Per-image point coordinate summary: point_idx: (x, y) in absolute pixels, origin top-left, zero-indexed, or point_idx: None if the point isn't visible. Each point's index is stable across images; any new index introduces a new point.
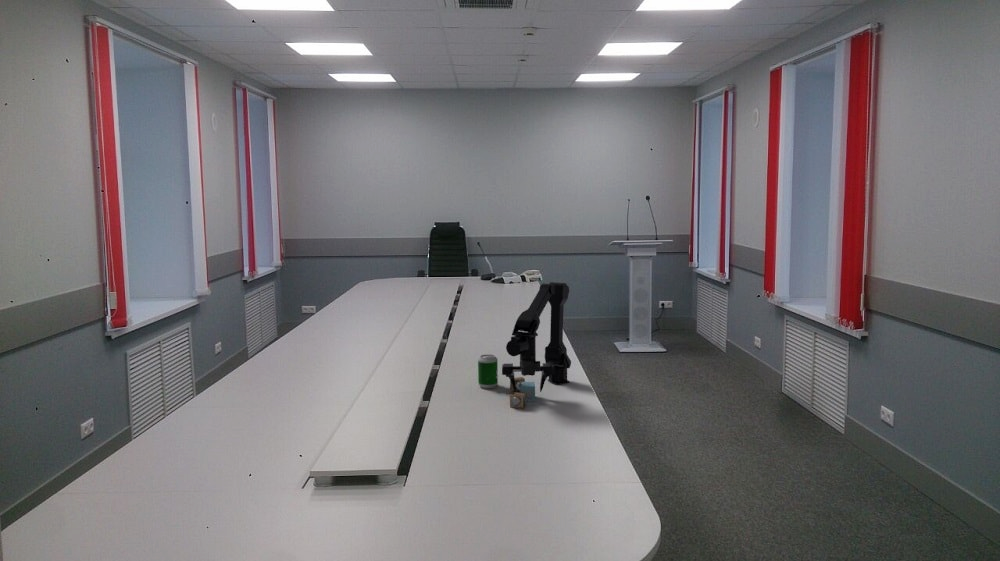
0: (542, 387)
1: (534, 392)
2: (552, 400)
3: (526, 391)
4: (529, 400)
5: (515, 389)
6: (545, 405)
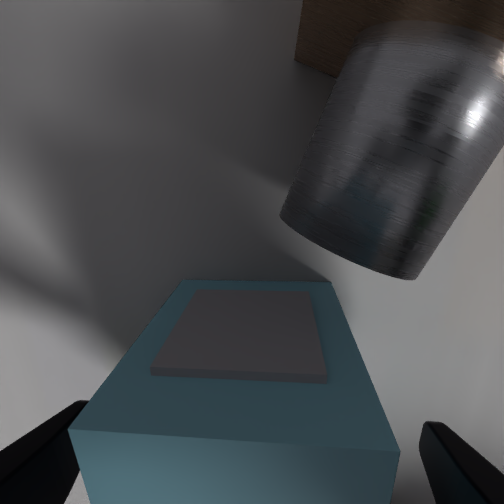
0: (2, 452)
1: (143, 340)
2: (13, 294)
3: (272, 351)
4: (241, 283)
5: (460, 458)
6: (47, 127)
